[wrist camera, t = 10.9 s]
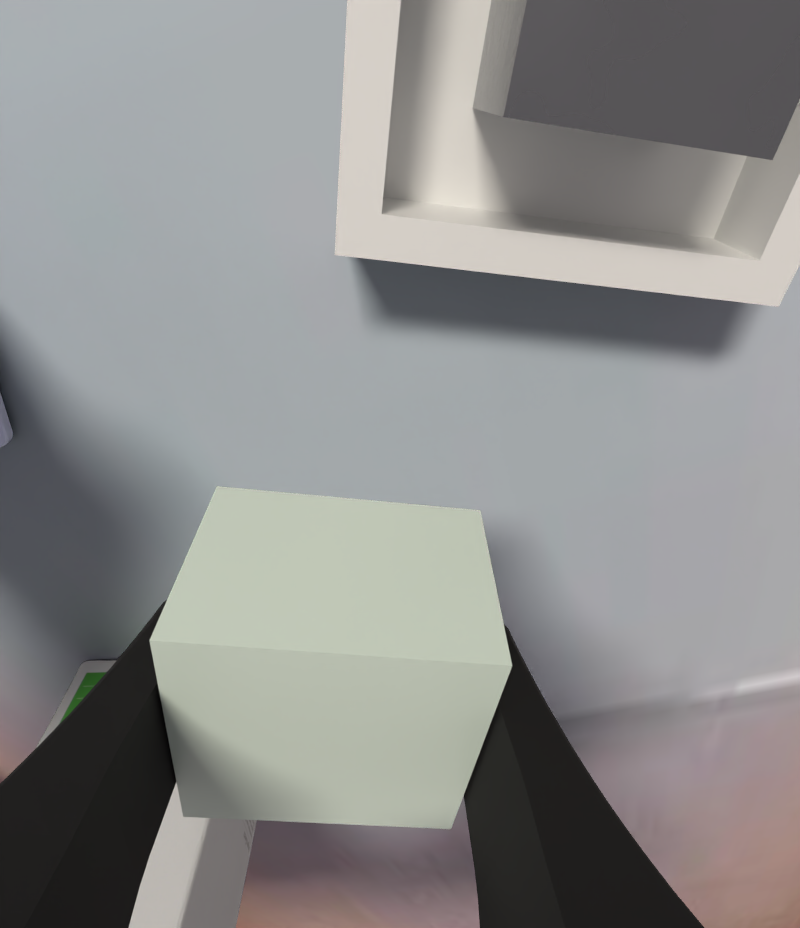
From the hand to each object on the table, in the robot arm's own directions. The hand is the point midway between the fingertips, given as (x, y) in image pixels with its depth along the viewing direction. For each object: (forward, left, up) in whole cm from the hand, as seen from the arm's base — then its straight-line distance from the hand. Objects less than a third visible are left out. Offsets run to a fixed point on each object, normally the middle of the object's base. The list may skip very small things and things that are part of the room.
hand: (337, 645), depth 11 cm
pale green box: (0, 0, -2) cm, 2 cm away
